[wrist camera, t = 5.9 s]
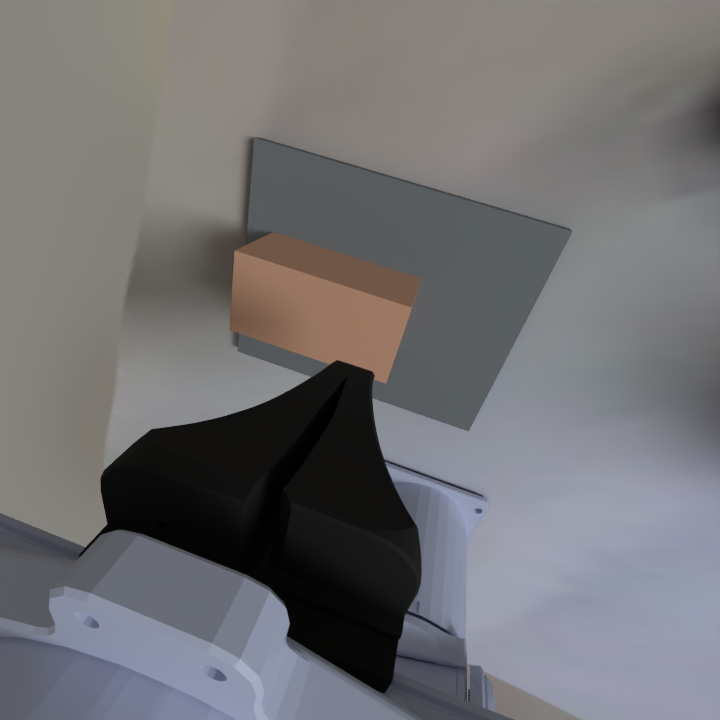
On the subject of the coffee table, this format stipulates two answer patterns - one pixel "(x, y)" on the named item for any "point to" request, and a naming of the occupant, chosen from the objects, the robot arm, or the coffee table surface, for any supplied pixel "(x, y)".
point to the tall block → (321, 302)
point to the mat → (412, 270)
